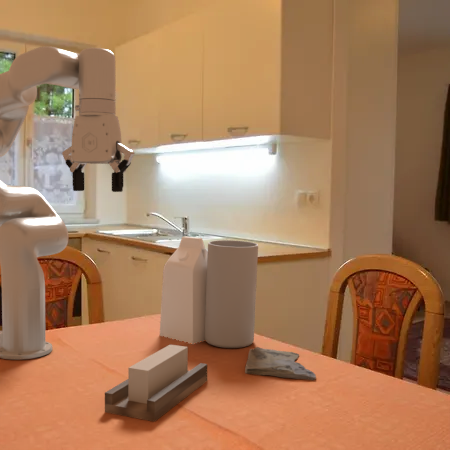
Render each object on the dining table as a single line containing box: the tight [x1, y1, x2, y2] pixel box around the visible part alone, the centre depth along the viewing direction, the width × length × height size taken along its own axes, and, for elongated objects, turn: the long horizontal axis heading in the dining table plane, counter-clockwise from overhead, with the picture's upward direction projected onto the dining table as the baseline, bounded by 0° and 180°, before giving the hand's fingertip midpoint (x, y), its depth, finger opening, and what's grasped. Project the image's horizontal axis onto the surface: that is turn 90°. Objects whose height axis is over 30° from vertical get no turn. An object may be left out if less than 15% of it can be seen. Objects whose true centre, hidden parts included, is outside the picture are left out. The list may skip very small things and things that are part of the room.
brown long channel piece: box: [104, 362, 208, 422], centre depth 111 cm, size 10×22×4 cm, turn 158°
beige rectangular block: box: [127, 344, 189, 404], centre depth 111 cm, size 4×16×6 cm, turn 158°
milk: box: [159, 235, 208, 345], centre depth 153 cm, size 12×12×26 cm
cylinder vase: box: [204, 239, 259, 349], centre depth 147 cm, size 12×12×25 cm
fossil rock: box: [244, 346, 317, 381], centre depth 130 cm, size 18×15×2 cm
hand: (97, 191), depth 124 cm, fingers open, 9 cm apart
